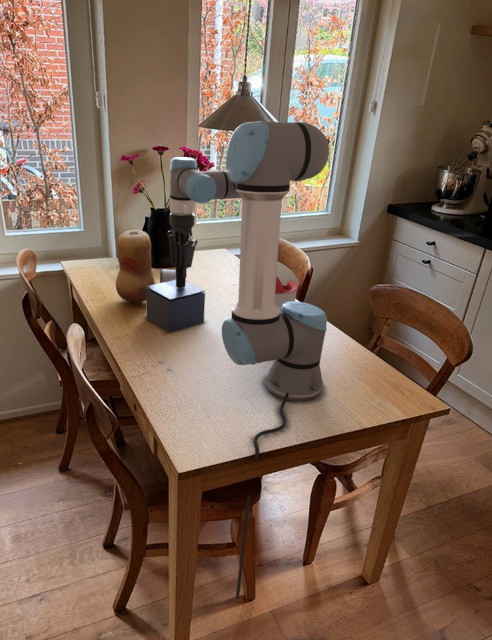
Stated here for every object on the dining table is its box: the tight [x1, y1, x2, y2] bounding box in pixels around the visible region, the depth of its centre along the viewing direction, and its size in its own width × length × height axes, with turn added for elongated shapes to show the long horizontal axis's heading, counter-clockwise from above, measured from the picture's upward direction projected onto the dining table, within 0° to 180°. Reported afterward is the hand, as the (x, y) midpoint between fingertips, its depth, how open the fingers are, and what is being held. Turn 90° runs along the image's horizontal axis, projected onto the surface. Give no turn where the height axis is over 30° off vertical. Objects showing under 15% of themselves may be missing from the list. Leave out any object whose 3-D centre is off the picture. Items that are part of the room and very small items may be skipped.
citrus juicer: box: [275, 275, 299, 312], centre depth 168 cm, size 16×17×20 cm
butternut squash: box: [115, 229, 156, 305], centre depth 182 cm, size 14×13×25 cm
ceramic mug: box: [159, 268, 176, 283], centre depth 200 cm, size 11×8×8 cm
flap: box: [165, 280, 206, 296], centre depth 173 cm, size 7×13×1 cm, turn 40°
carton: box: [145, 282, 206, 334], centre depth 174 cm, size 14×13×11 cm
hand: (180, 286), depth 172 cm, fingers closed
